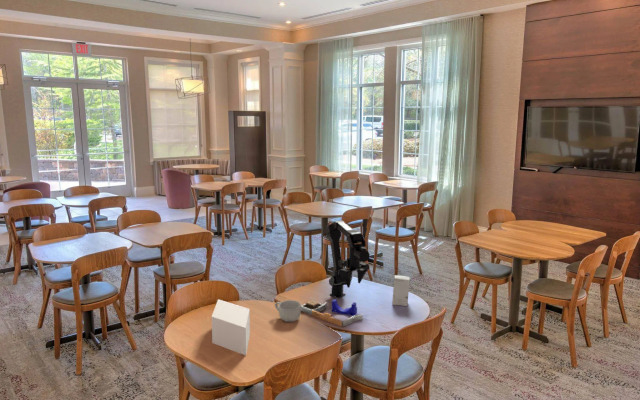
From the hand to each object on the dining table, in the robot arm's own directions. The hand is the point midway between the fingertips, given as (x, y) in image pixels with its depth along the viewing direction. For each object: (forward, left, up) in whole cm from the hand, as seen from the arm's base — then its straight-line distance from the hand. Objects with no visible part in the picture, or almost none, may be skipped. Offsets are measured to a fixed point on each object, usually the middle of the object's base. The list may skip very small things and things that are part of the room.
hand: (353, 285), depth 248 cm
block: (+65, -18, -12) cm, 69 cm away
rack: (+16, -2, -12) cm, 20 cm away
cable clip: (+8, +1, -12) cm, 15 cm away
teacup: (+33, -15, -12) cm, 39 cm away
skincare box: (-22, +15, -12) cm, 29 cm away
